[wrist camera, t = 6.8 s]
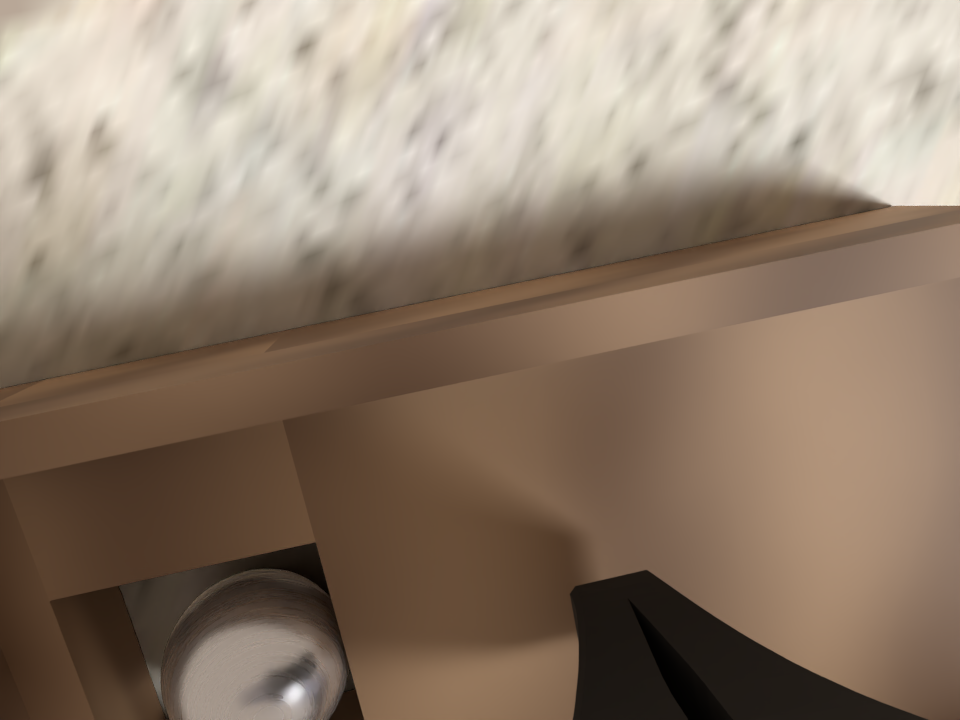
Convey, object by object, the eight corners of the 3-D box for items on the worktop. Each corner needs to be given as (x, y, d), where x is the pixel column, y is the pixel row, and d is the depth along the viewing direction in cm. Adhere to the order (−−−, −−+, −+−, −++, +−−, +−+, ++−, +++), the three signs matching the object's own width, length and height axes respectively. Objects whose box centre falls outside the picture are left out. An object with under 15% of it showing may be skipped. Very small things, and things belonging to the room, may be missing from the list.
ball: (310, 517, 14) (342, 594, 11) (348, 648, 15) (388, 753, 12) (140, 577, 13) (127, 682, 10) (193, 715, 14) (194, 848, 11)
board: (895, 205, 13) (1043, 205, 10) (917, 688, 16) (1041, 806, 13) (-57, 400, 12) (-215, 465, 9) (131, 877, 15) (57, 1056, 12)
